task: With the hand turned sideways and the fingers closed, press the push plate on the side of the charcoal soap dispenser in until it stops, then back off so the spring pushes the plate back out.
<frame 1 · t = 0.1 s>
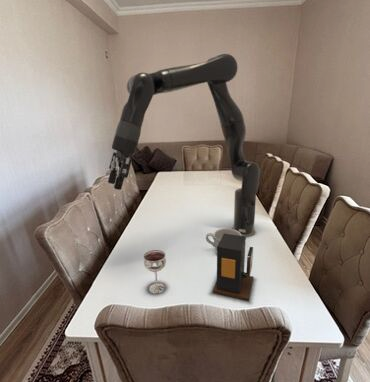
hand: (114, 186, 82), 31 cm above the table, tool tilted 20°, fingers open, 8 cm apart
push plate: (249, 261, 76), point 10 cm above the table, slide at -0.1 cm
dispenser: (230, 285, 81), on the table
teacup: (223, 251, 101), on the table
wineglass: (157, 288, 80), on the table
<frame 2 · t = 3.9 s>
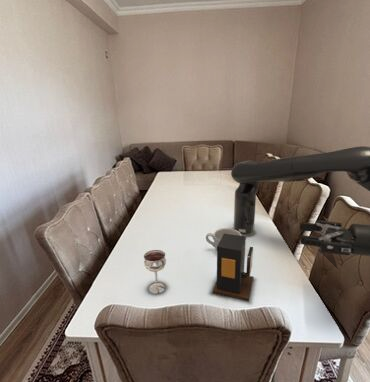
hand: (300, 232, 67), 22 cm above the table, tool horizontal, fingers open, 8 cm apart
nothing on the table moved.
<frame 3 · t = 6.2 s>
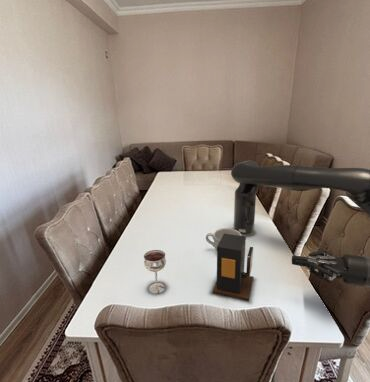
hand: (291, 259, 71), 13 cm above the table, tool horizontal, fingers closed
nothing on the table moved.
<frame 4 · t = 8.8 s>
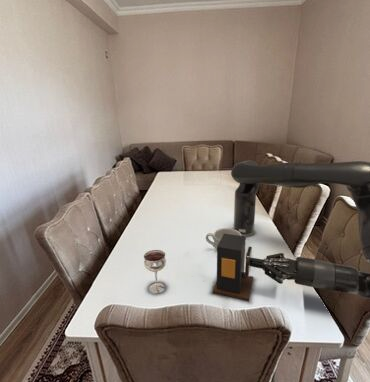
hand: (250, 261, 76), 10 cm above the table, tool horizontal, fingers closed
push plate: (248, 261, 76), point 10 cm above the table, slide at 0.3 cm, touching gripper
everything else where it was.
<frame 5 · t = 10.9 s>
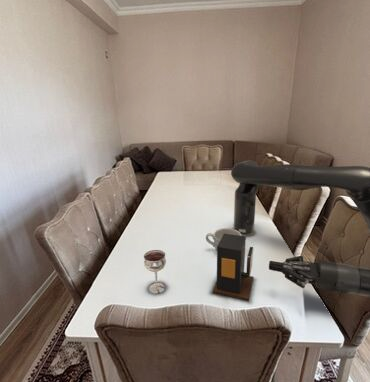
hand: (269, 265, 74), 10 cm above the table, tool horizontal, fingers closed
push plate: (249, 261, 76), point 10 cm above the table, slide at -0.1 cm
everything else where it was.
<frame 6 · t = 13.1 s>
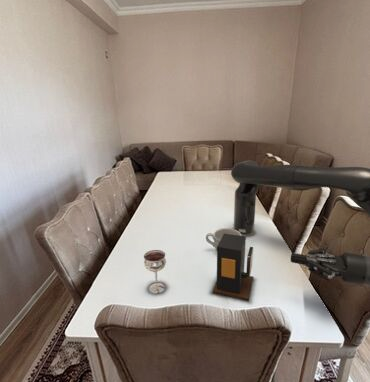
hand: (291, 257, 71), 14 cm above the table, tool horizontal, fingers closed
nothing on the table moved.
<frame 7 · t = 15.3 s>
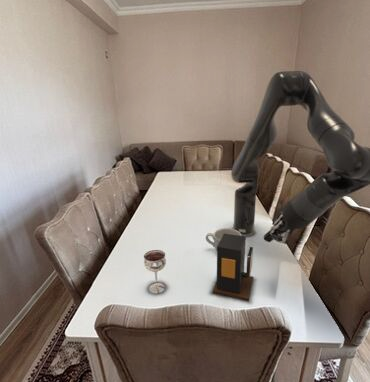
hand: (266, 239, 77), 16 cm above the table, tool tilted 40°, fingers closed
nothing on the table moved.
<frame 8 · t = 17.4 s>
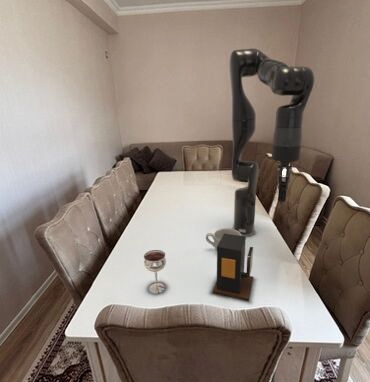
hand: (281, 200, 77), 27 cm above the table, tool pointing down, fingers closed
nothing on the table moved.
at the end: push plate pulled out 0.9 cm at the most during the clip, back to where it started at the end; push plate slide at -0.1 cm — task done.
